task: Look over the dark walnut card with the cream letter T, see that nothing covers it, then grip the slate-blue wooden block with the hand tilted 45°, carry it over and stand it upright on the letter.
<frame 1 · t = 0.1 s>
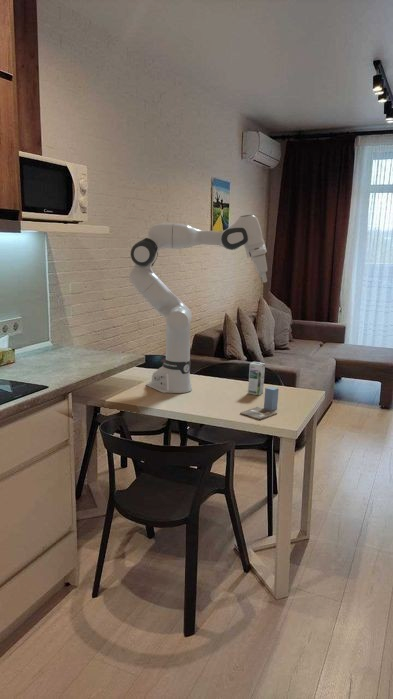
hand: (264, 281, 236), 52 cm above the table, tool tilted 20°, fingers open, 8 cm apart
syrup box: (255, 393, 247), on the table
slate block: (270, 408, 225), on the table
letter card: (258, 414, 217), on the table
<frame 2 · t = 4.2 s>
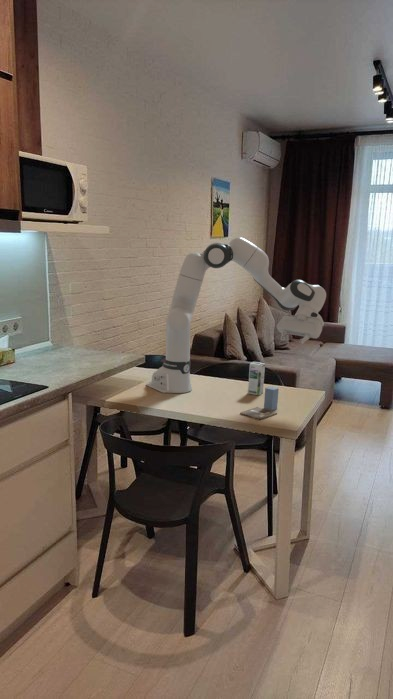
hand: (291, 341, 229), 28 cm above the table, tool tilted 45°, fingers open, 8 cm apart
nothing on the table moved.
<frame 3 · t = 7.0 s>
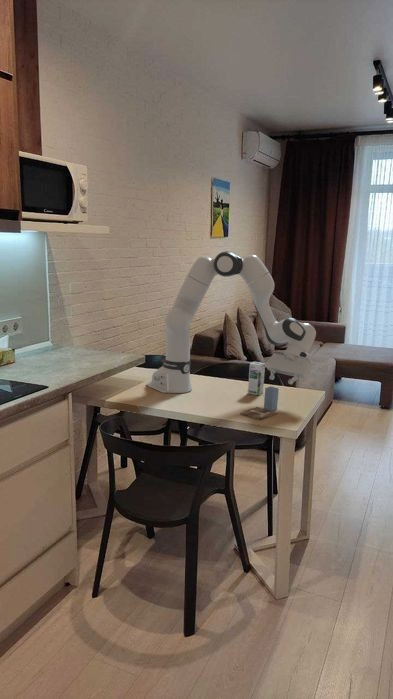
hand: (280, 381, 227), 11 cm above the table, tool tilted 45°, fingers open, 8 cm apart
nothing on the table moved.
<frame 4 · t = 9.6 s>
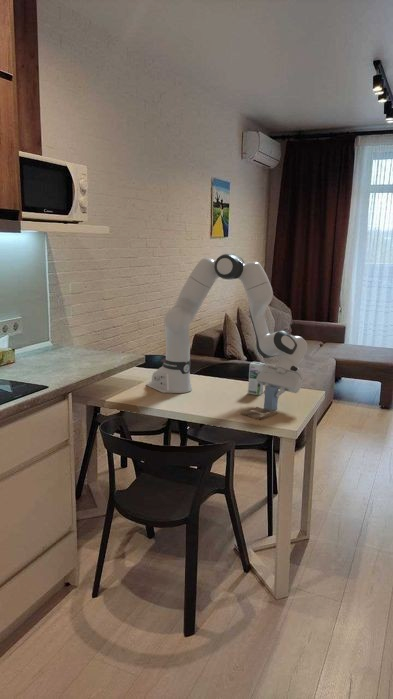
hand: (270, 395, 224), 6 cm above the table, tool tilted 45°, fingers closed on slate block, 4 cm apart
slate block: (270, 408, 225), on the table, touching gripper
everything else where it was.
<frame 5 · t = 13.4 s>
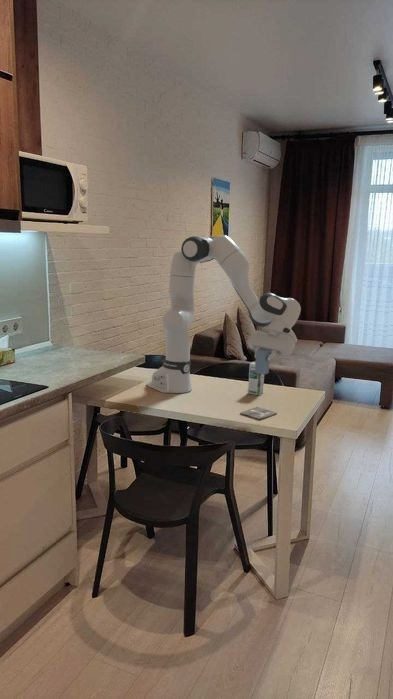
hand: (261, 358, 212), 23 cm above the table, tool tilted 45°, fingers closed on slate block, 4 cm apart
slate block: (261, 372, 214), point 17 cm above the table, touching gripper
everything else where it was.
when the fingers open (8 cm above the table, at t = 17.6 s): slate block drops 1 cm, resting on letter card.
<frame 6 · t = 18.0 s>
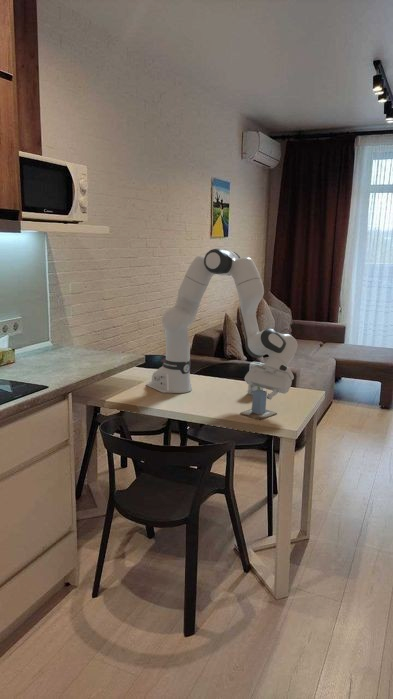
hand: (258, 395, 215), 8 cm above the table, tool tilted 45°, fingers open, 8 cm apart
slate block: (258, 412, 217), point 1 cm above the table, touching letter card
everything else where it was.
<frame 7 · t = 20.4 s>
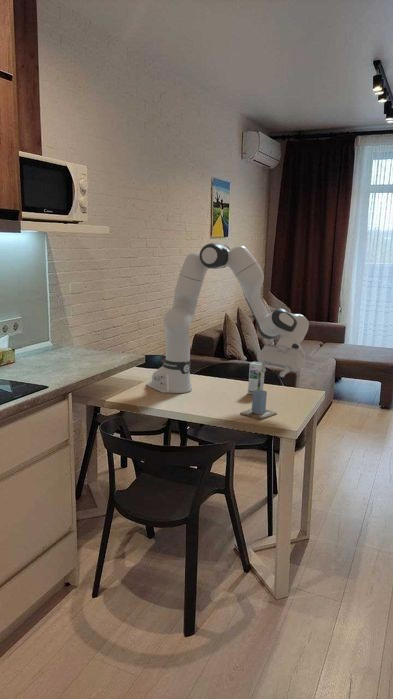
hand: (271, 373, 219), 16 cm above the table, tool tilted 45°, fingers open, 8 cm apart
nothing on the table moved.
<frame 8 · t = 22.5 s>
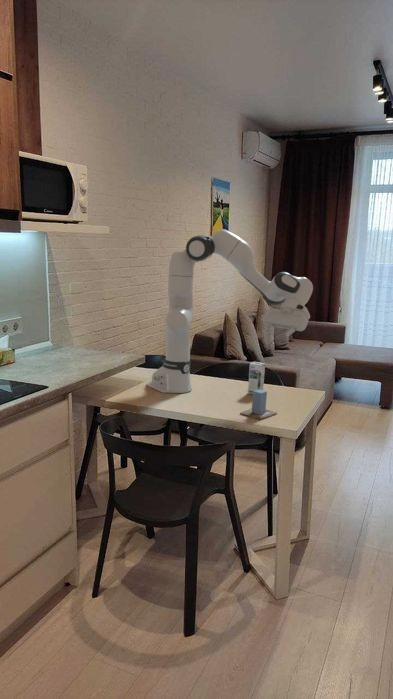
hand: (276, 334, 223), 31 cm above the table, tool tilted 45°, fingers open, 8 cm apart
nothing on the table moved.
at the end: slate block 0.1 cm off-centre on the letter card, point 0.7 cm above the letter card's base; slate block tilted 0°; the gripper is holding nothing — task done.
